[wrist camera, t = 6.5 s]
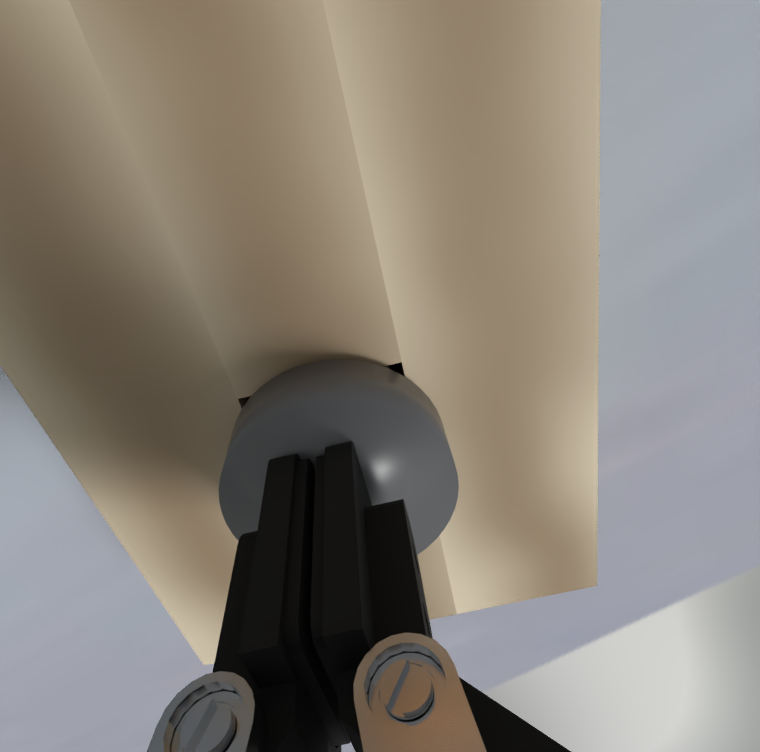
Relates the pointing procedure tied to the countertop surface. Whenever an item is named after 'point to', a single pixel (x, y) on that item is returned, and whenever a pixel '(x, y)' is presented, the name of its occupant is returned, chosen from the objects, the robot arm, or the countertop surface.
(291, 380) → the gray knob
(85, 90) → the control block
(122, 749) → the countertop surface
